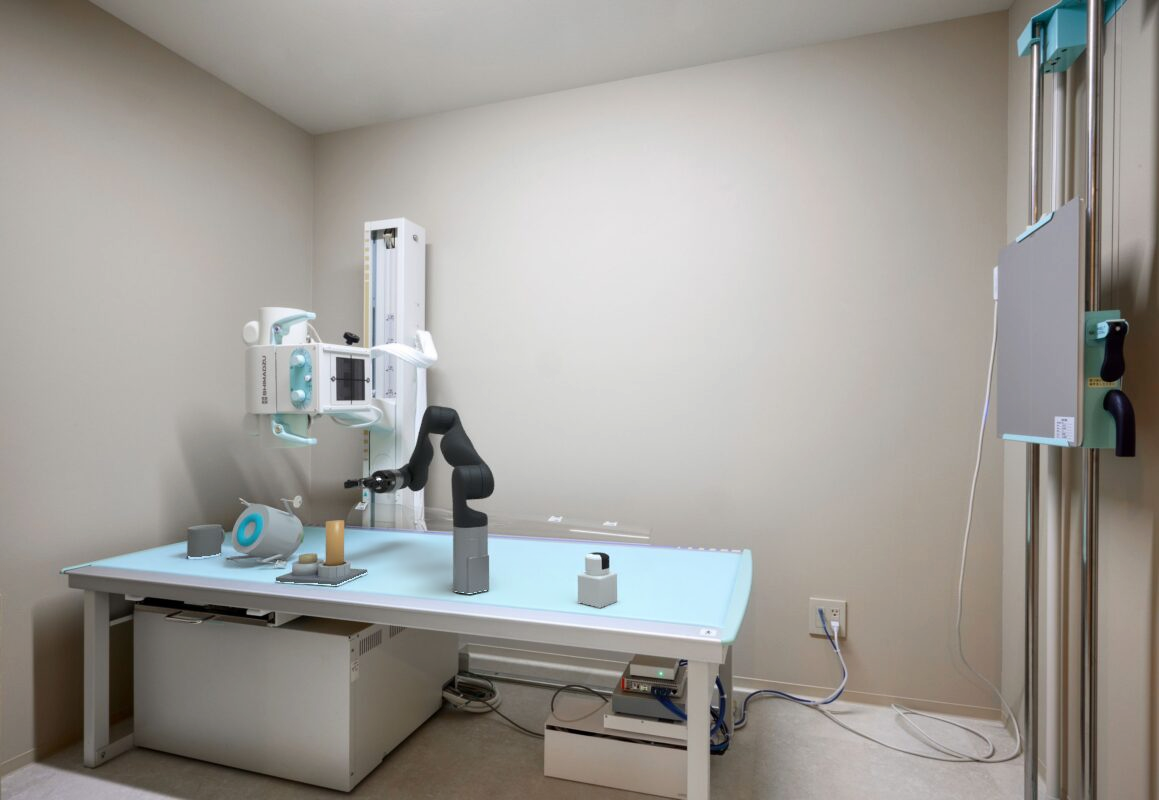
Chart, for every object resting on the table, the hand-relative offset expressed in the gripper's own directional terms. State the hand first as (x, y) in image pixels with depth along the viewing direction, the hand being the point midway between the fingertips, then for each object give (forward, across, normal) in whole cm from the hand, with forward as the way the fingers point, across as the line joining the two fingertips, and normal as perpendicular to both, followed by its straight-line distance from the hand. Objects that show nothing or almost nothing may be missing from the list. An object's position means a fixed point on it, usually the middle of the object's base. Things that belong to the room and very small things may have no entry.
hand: (357, 485), depth 183 cm
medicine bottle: (+15, +79, +27) cm, 85 cm away
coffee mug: (-8, -64, +25) cm, 70 cm away
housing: (+10, -4, +26) cm, 28 cm away
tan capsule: (+10, 0, +25) cm, 27 cm away
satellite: (-4, -36, +26) cm, 45 cm away
